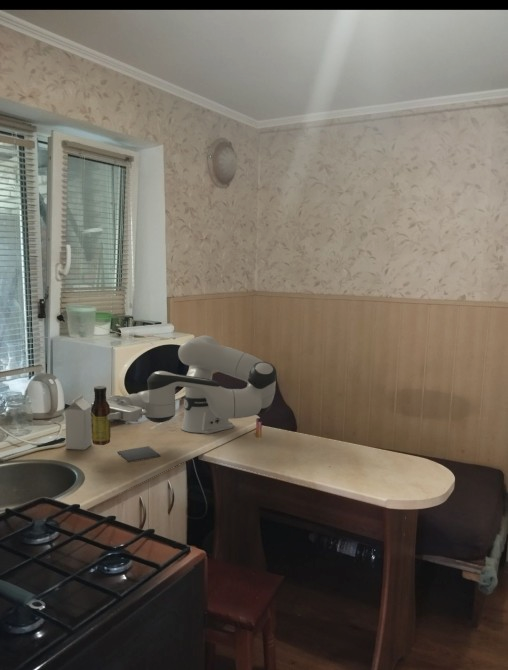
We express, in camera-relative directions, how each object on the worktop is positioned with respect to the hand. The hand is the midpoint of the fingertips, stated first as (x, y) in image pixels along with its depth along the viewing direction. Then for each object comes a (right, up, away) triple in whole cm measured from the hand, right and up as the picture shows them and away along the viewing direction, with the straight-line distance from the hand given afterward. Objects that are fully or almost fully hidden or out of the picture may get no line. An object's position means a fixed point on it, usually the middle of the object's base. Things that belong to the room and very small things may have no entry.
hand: (98, 415), depth 186 cm
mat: (+11, -16, +11) cm, 23 cm away
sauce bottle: (0, -10, +2) cm, 10 cm away
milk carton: (-13, -15, +18) cm, 27 cm away
